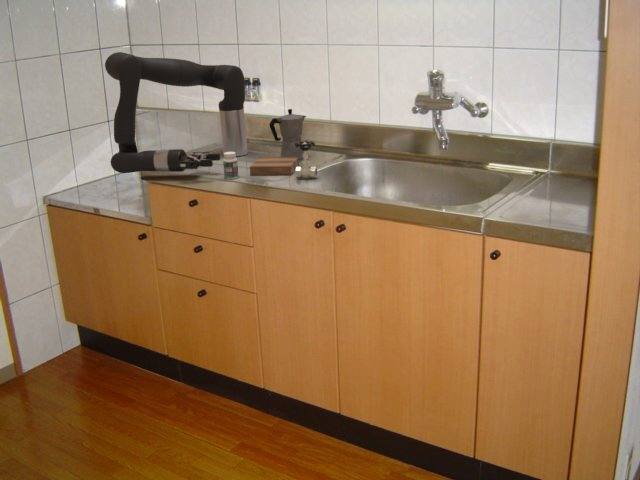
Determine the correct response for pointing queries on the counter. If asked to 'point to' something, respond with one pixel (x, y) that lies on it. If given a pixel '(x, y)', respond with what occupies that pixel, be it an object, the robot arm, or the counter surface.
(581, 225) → the counter surface
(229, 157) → the pill bottle
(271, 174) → the stand
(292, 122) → the coffeepot
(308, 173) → the valve
